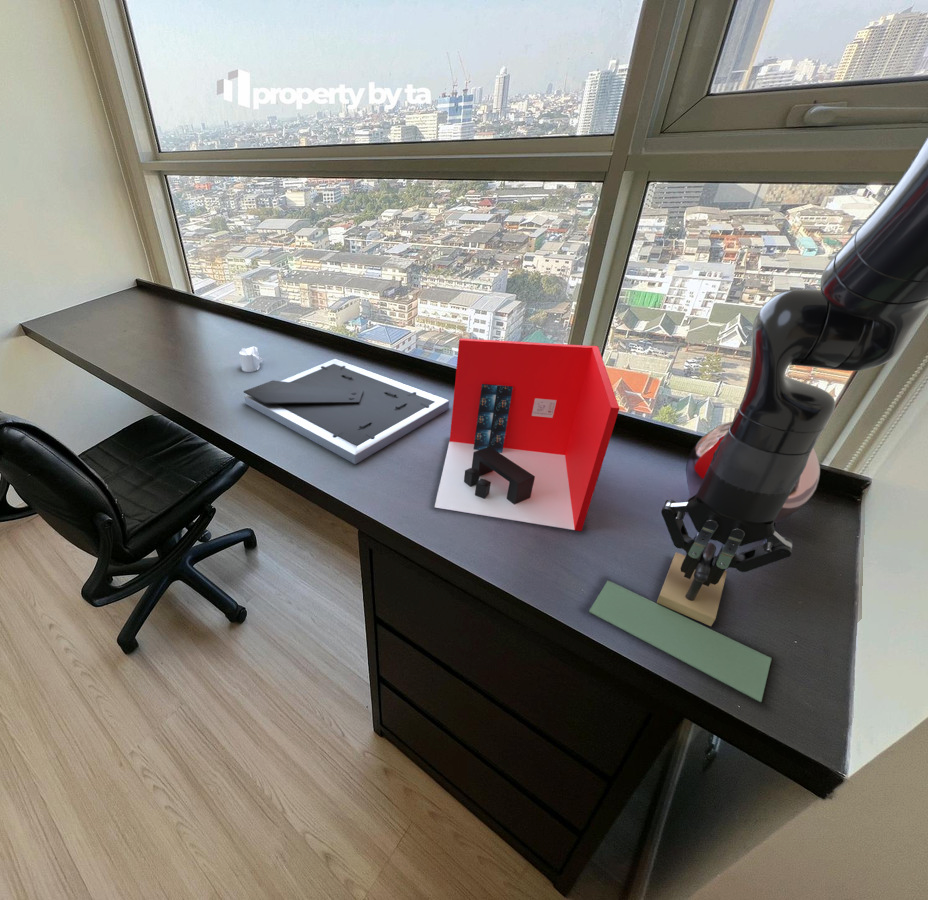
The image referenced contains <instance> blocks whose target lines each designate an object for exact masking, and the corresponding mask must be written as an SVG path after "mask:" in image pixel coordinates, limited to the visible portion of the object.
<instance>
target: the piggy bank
mask: <svg viewBox="0 0 928 900" xmlns="http://www.w3.org/2000/svg"><path fill="white" fill-rule="evenodd" d="M732 422H733V420H732V421H728V422H725V423H722V424H721V425H718V426H716V427H715V428H713V429H711V430H710V431H708V432H707V433H706V434H704V435H703V436H702V437H701V438H700V439H699V440H698V441H697V442H696V443H695V444H694V446H693V447H692V449H691V451H690V453H689V454H688V458H687V461H686V464H685V478H686V483H687V488H688V498H687V499H686V501H685V502H688V500H689V499H690V498H691V497H693V496H695V495H696V494H697V492H698V490H699V488H700V486H701V483H702V481H703V479H704V477H705V475H706V472H707V470H708V468H709V466H710V464H711V461H712V459H713V455H714V453H715V451H716V450H717V448H718V446H719V444H720V442H721V441H722V439H723V438H724V436H725V435H726V433H727V432H728V430H729V428H730V426H731V424H732ZM820 478H821V464H820V461H819V456H818V454H817V452H816V449H815V447H813V449H812V451H811V453H810V455H809V458H808V461H807V464H806V467H805V469H804V471H803V472H802V474H801V476H800V478H799V479H798V481H797V483H796V484H795V486H794V488H793V490H792V491H791V493H790V495H789V496H788V498H787V500H786V502H785V503H784V505H783V507H782V508H781V510H780V512H779V514H778V515H777V517H776V519H775V524H777V523H779V522H780V521H782V520H784V519H786V518H788V517H790V516H792V515H793V514H795V513H797V512H798V511H800V510H802V508H803V507H805V506H806V505H807V504H808V503H809V502H810V501H811V500H812V498H813V496H814V495H815V493H816V491H817V489H818V487H819V483H820V480H821V479H820Z"/></svg>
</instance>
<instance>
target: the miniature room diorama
mask: <svg viewBox="0 0 928 900" xmlns="http://www.w3.org/2000/svg"><path fill="white" fill-rule="evenodd" d="M456 360H457V361H456V368H455V382H454V390H453V401H452V413H451V423H450V432H449V441H448V446H447V451H446V455H445V460H444V463H443V468H442V473H441V478H440V481H439V486H438V489H437V494H436V499H435V503H434V509H442V510H446V511H453V512H460V513H466V514H472V515H477V516H478V515H479V516H483V517H484V516H485V517H490V518H496V519H501V520H502V519H503V520H509V521H516V522H522V523H528V524H534V525H539V526H546V527H553V528H558V529H565V530H571V531H577V532H582V531H583V528H584V524H585V521H586V517H587V515H588V512H589V508H590V505H591V502H592V499H593V495H594V492H595V489H596V486H597V482H598V479H599V475H600V472H601V470H602V466H603V463H604V460H605V457H606V453H607V450H608V447H609V444H610V441H611V437H612V434H613V431H614V428H615V424H616V421H617V418H618V415H619V411H620V406H619V402H618V400H617V397H616V394H615V391H614V389H613V385H612V382H611V380H610V377H609V374H608V371H607V368H606V365H605V362H604V359H603V356H602V353H601V351H600V348H599V345H585V344H584V345H583V344H569V343H568V344H567V343H566V344H565V343H552V342H551V343H549V342H533V341H532V342H530V341H517V340H497V339H496V340H495V339H482V338H481V339H478V338H463V337H461V338H459V340H458V349H457V359H456Z"/></svg>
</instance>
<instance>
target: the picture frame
mask: <svg viewBox="0 0 928 900" xmlns="http://www.w3.org/2000/svg"><path fill="white" fill-rule="evenodd" d="M243 394H245V395H244V396H243V397H244V403H245V405H247V406H249V407H250V408H252V409H254V410H256V411H257V412H259V413H260V414H263V415H265V416H266V417H268V418H269V419H272V420H274V421H275V422H277V423H279V424H281V425H283V426H284V427H287V428H288V429H290V430H292V431H294V432H295V433H297V434H299V435H301V436H303V437H305V438H306V439H308V440H310V441H311V442H314V443H315V444H317V445H319V446H320V447H323V448H324V449H326V450H328V451H330V452H332V453H334V454H335V455H337V456H339V457H341V458H343V459H344V460H346V461H347V462H350V463H352V464H353V465H357V464H358V463H360V462H362V461H363V460H366V459H367V458H369V457H370V456H372V455H374V454H375V453H377V452H379V451H380V450H382V449H384V448H385V447H387V446H389V445H390V444H392V443H394V442H396V441H397V440H400V439H401V438H402V437H404V436H406V435H408V434H409V433H411V432H412V431H414V430H416V429H418V428H419V427H421V426H422V425H424V424H426V423H427V422H429V421H431V420H433V419H434V418H436V417H439V416H440V415H441V414H443V413H445V412H446V411H448V410H449V409H450V400H449V399H446V398H445V397H444V398H443V397H441V396H438V395H435V394H433V393H430V392H427V391H425V390H422V389H419V388H416V387H413V386H410V385H408V384H405V383H402V382H400V381H397V380H394V379H391V378H389V377H387V376H384V375H380V374H378V373H375V372H372V371H370V370H366V369H364V368H361V367H359V366H356V365H353V364H352V363H351V364H350V363H348V362H345V361H342V360H339V359H337V358H334V359H331V360H328V361H326V362H323V363H320V364H319V365H316V366H313V367H312V368H309V369H307V370H304V371H302V372H299V373H297V374H294V375H292V376H289V377H287V378H284V379H282V380H274V379H273V380H270V381H267V382H264V383H262V384H258V385H256V386H253V387H250V388H248V389H245V390H243Z"/></svg>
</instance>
